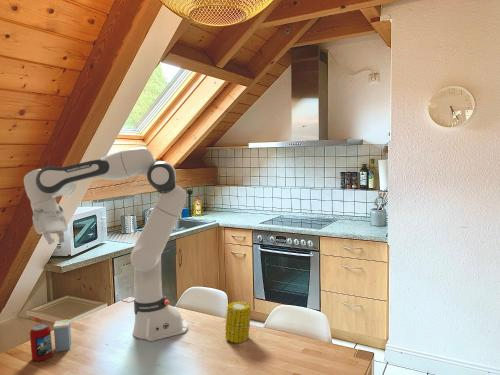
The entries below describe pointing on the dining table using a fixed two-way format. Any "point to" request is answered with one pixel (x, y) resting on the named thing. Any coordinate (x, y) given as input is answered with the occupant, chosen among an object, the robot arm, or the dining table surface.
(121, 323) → the dining table surface
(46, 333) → the beverage can
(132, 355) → the dining table surface
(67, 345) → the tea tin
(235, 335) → the food
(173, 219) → the robot arm
